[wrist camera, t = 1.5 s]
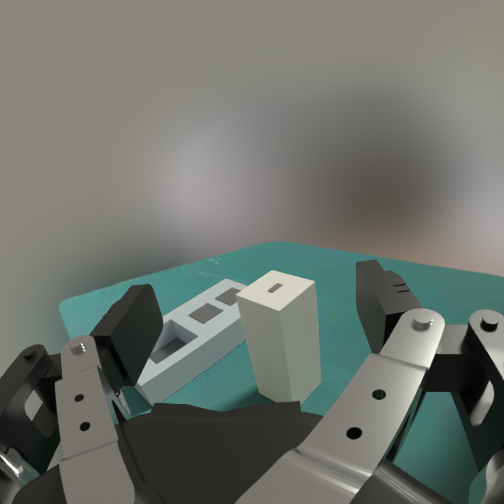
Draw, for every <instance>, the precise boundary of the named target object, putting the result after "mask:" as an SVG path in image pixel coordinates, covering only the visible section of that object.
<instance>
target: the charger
mask: <svg viewBox="0 0 504 504" xmlns="http://www.w3.org/2000/svg"><path fill="white" fill-rule="evenodd" d="M236 299H237V304H238V308H239V312H240V317H241V321H242V325H243V329H244V334H245V338H246V342H247V346H248V350H249V355H250V359H251V363H252V367H253V371H254V375H255V379H256V383H257V387H258V391H259V393H260V394H262V395H264V396H265V397H267V398H269V399H271V400H273V401H274V402H276V403H278V402H291V401H300V405H301V404H302V403H303V402H304V401H305V400H306V399H307V398H308V397H309V395H310V394H311V393H312V392H313V391H314V390H315V389H316V388H317V387H318V386H319V384H320V383H321V368H320V347H319V329H318V314H317V300H316V287H315V281H311V280H307V279H303V278H300V277H296V276H292V275H288V274H284V273H281V272H277V271H273V270H272V271H270V272H269V273H267V274H266V275H264V276H263V277H261V278H260V279H258V280H257V281H255V282H254V283H252V284H251V285H249V286H248V287H246V288H245V289H243V290H242V291H240V292H239V293H237V294H236Z"/></svg>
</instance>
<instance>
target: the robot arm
mask: <svg viewBox="0 0 504 504" xmlns="http://www.w3.org/2000/svg"><path fill="white" fill-rule="evenodd" d="M356 306H357V312H358V315H359V318H360V321H361V323H362V326H363V329H364V331H365V334H366V337H367V340H368V343H369V345H370V348H371V351H372V353H371V354H370V355H369V356H368V357H367V359H366V360H365V362H364V363H363V364H362V366H361V367H360V369H359V370H358V372H357V373H356V375H355V376H354V377H353V379H352V380H351V382H350V383H349V384H348V386H347V387H346V388H345V390H344V391H343V392H342V394H341V395H340V396H339V398H338V399H337V400H336V402H335V403H334V404H333V406H332V407H331V408H330V410H329V411H328V412H327V413H326V415H325V416H321V415H318V414H314V413H309V412H301V407H300V401H291V402H278V403H262V404H258V405H253V406H249V407H245V408H240V409H236V410H231V411H226V412H217V411H213V410H208V409H204V408H200V407H195V406H191V405H187V404H168V403H154V405H153V408H152V410H151V413H147V414H142V415H139V416H136V417H132V415H131V412H130V410H129V407H128V405H127V402H126V399H125V397H124V395H123V393H122V391H121V387H122V386H136V383H137V381H138V379H139V377H140V375H141V373H142V371H143V369H144V367H145V365H146V363H147V361H148V359H149V357H150V355H151V353H152V351H153V349H154V347H155V345H156V343H157V341H158V339H159V337H160V335H161V333H162V330H163V317H162V314H161V311H160V308H159V305H158V302H157V299H156V296H155V293H154V290H153V288H152V286H151V285H150V284H142V285H132V286H131V287H130V288H129V289H128V291H127V292H126V293H125V294H124V296H123V297H122V298H121V299H120V300H118V301H117V302H116V303H114V304H113V305H112V306H111V308H110V309H109V310H108V311H107V313H106V314H105V315H104V316H103V319H101V320H100V322H99V323H98V324H97V325H96V327H95V328H94V329H93V331H92V332H91V333H90V335H89V336H88V335H83V336H78V337H76V338H73V339H71V340H70V341H68V342H67V343H66V344H65V345H64V346H63V348H62V350H61V353H59V354H54V355H49V354H48V353H47V351H46V349H45V348H44V346H43V345H39V344H37V345H33V346H30V347H28V348H26V349H25V350H24V351H22V352H21V353H20V354H19V356H18V357H17V358H16V359H15V360H14V362H13V363H12V364H11V365H10V367H9V368H8V369H7V371H6V372H5V373H4V375H3V376H2V377H1V378H0V504H453V503H451V502H450V501H448V500H447V499H445V498H443V497H442V496H440V495H439V494H437V493H436V492H434V491H433V490H431V489H430V488H428V487H427V486H425V485H424V484H422V483H421V482H419V481H418V480H416V479H415V478H413V477H412V476H410V475H409V474H407V473H406V472H405V471H403V470H402V469H400V468H399V467H397V466H396V465H395V464H393V463H394V461H395V459H396V457H397V455H398V453H399V451H400V449H401V447H402V445H403V443H404V441H405V439H406V437H407V434H408V432H409V430H410V428H411V426H412V424H413V422H414V420H415V418H416V416H417V414H418V411H419V409H420V407H421V405H422V402H423V400H424V398H425V395H426V393H427V392H450V393H451V395H452V397H453V400H454V403H455V405H456V408H457V410H458V413H459V415H460V418H461V421H462V424H463V426H464V429H465V432H466V435H467V438H468V441H469V444H470V447H471V450H472V453H473V456H474V459H475V462H476V465H477V469H478V472H479V474H478V475H477V476H476V477H475V478H474V480H473V481H472V483H471V485H470V489H469V504H504V316H503V315H502V314H500V313H498V312H496V311H492V310H479V311H476V312H474V313H473V314H472V315H471V316H470V319H469V323H468V325H450V324H445V322H444V319H443V318H442V316H441V315H439V314H438V313H437V312H435V311H432V310H429V309H423V308H422V306H421V305H420V303H419V302H418V300H417V299H416V297H415V296H414V294H413V293H412V292H411V291H410V289H409V287H408V286H407V285H406V283H405V282H404V280H403V279H402V278H401V276H399V275H398V274H396V273H394V272H393V271H391V270H390V271H384V270H383V269H382V267H381V266H380V264H379V263H378V261H377V260H368V261H360V262H357V263H356ZM33 390H35V392H36V393H37V394H38V396H39V397H40V399H41V400H42V401H43V403H42V405H41V407H40V408H39V410H38V412H37V414H36V415H35V417H34V419H33V420H32V421H31V420H30V419H29V417H28V416H27V415H26V412H25V407H24V406H25V402H26V401H27V399H28V397H29V396H30V394H31V393H32V391H33ZM60 440H61V444H62V449H63V459H62V460H61V461H60V464H58V465H56V466H55V467H53V468H51V469H50V470H48V471H47V468H48V466H49V464H50V462H51V459H52V457H53V455H54V453H55V451H56V449H57V447H58V445H59V443H60ZM46 471H47V472H46Z"/></svg>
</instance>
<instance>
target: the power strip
mask: <svg viewBox="0 0 504 504" xmlns="http://www.w3.org/2000/svg"><path fill="white" fill-rule="evenodd" d="M246 287H248V286H246V285H243V284H240V283H237V282H234V281H231V280H228V279H224V280H223V281H221V282H219V283H218V284H216V285H214V286H213V287H211V288H210V289H208V290H206V291H205V292H203V293H201V294H200V295H198V296H196V297H195V298H193V299H191V300H190V301H188V302H186V303H185V304H183V305H181V306H180V307H178V308H176V309H175V310H173V311H171V312H170V313H168V314H166V315H165V316H163V330H162V333H161V335H160V337H159V339H158V341H157V343H156V345H155V347H154V349H153V351H152V353H151V355H150V357H149V359H148V361H147V363H146V365H145V367H144V369H143V371H142V373H141V375H140V377H139V379H138V381H137V383H136V386H134V388H135V389H136V390H137V391H138V392H139V393H140V394H141V395H142V396H143V397H144V398H145V399H146V400H147V402H148V403H149V404H150V405H151V406H152V407H153V405H154V403H161V402H162V401H163V400H165V399H166V398H168V397H169V396H171V395H172V394H174V393H175V392H176V391H178V390H179V389H181V388H182V387H183V386H185V385H186V384H188V383H189V382H190V381H192V380H193V379H194V378H196V377H197V376H199V375H200V374H201V373H203V372H204V371H205V370H207V369H208V368H209V367H211V366H212V365H213V364H215V363H216V362H218V361H219V360H220V359H222V358H223V357H224V356H225V355H227V354H228V353H229V352H231V351H232V350H233V349H235V348H236V347H237V346H239V345H240V344H241V343H242V342H244V341H245V340H246V338H245V334H244V329H243V325H242V321H241V317H240V312H239V308H238V304H237V299H236V294H237V293H239V292H240V291H242V290H243V289H245V288H246Z"/></svg>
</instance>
